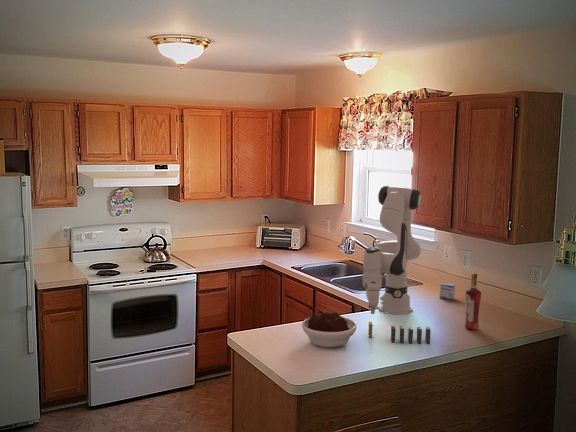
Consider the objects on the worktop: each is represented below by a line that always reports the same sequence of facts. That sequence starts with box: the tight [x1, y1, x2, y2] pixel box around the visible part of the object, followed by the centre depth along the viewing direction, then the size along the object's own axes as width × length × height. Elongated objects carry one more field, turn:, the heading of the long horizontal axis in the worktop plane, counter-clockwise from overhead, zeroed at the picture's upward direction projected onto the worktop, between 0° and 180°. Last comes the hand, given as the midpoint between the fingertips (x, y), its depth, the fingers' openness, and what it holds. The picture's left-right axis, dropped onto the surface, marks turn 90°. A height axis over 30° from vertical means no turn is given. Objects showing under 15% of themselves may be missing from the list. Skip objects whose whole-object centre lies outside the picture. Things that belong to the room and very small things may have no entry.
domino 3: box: [399, 325, 405, 345], centre depth 275 cm, size 4×1×7 cm, turn 178°
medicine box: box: [439, 282, 456, 301], centre depth 349 cm, size 8×4×9 cm, turn 62°
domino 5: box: [416, 326, 423, 345], centre depth 274 cm, size 4×1×7 cm, turn 178°
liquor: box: [464, 272, 482, 331], centre depth 294 cm, size 7×7×28 cm
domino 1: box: [367, 321, 374, 339], centre depth 281 cm, size 4×1×7 cm, turn 178°
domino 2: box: [390, 325, 396, 344], centre depth 275 cm, size 4×1×7 cm, turn 178°
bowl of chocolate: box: [301, 311, 357, 348], centre depth 272 cm, size 25×25×15 cm
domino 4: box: [407, 325, 414, 345], centre depth 275 cm, size 4×1×7 cm, turn 178°
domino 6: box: [424, 326, 432, 345], centre depth 274 cm, size 4×1×7 cm, turn 178°
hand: (371, 310), depth 280 cm, fingers open, 8 cm apart
